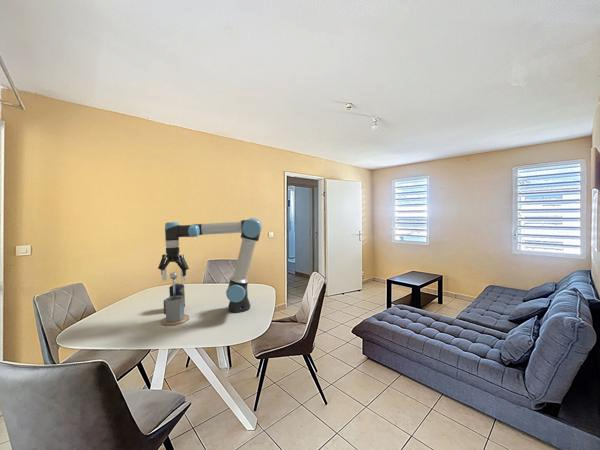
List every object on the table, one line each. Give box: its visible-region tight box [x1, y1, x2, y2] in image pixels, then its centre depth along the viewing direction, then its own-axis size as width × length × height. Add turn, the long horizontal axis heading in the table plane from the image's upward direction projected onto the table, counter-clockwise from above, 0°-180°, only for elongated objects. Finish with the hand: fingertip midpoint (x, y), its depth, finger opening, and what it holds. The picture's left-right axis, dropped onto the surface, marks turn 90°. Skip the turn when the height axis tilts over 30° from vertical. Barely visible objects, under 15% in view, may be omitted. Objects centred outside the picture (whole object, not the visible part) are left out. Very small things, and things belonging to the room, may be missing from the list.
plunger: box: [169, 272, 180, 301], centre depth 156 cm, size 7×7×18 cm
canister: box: [169, 283, 186, 308], centre depth 176 cm, size 10×10×18 cm
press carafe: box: [160, 296, 190, 327], centre depth 157 cm, size 16×16×14 cm
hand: (173, 280), depth 156 cm, fingers open, 13 cm apart
